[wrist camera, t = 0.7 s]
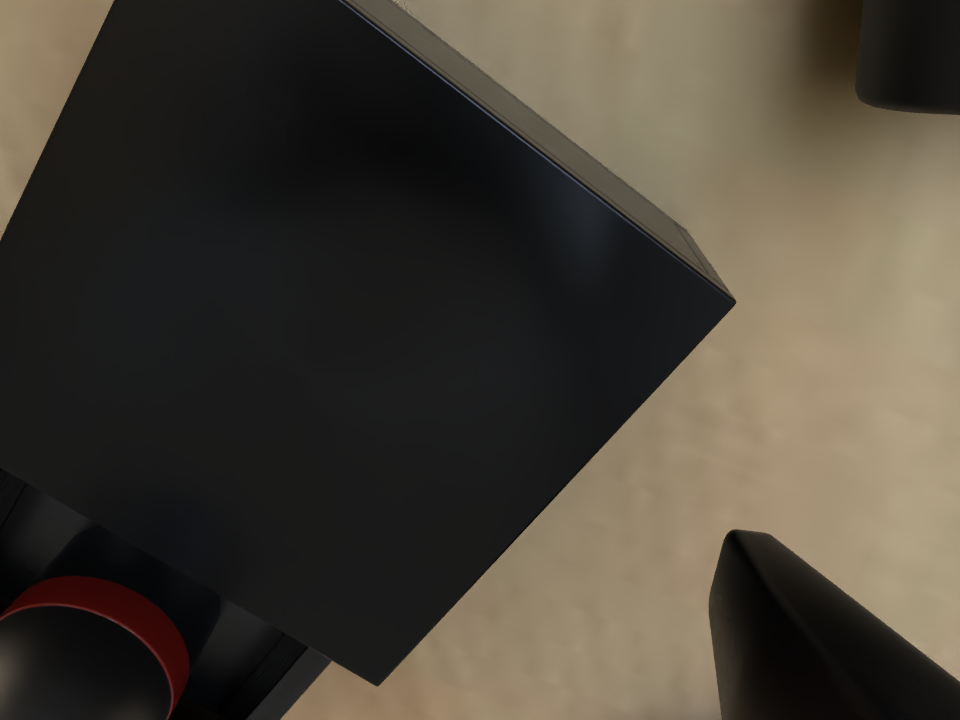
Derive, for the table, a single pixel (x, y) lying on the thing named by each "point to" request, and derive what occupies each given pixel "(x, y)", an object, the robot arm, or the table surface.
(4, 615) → the grey metal cylinder
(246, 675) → the drawer
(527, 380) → the cabinet
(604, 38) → the table surface
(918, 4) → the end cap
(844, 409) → the table surface
